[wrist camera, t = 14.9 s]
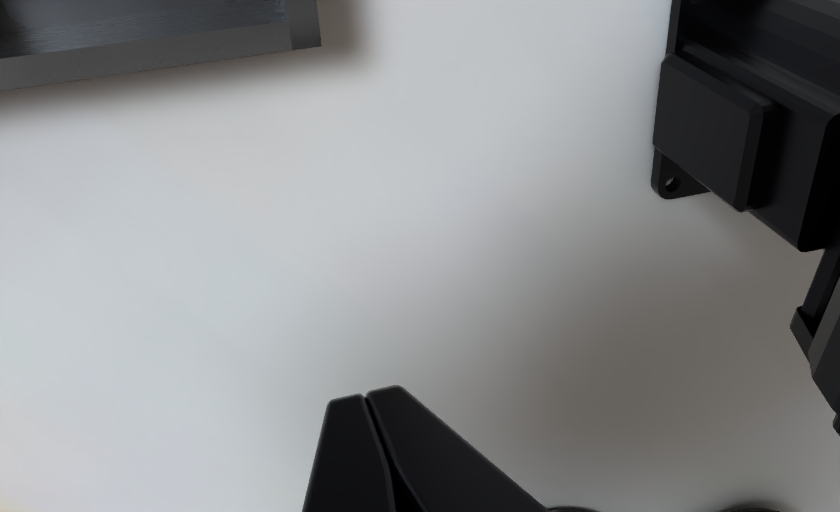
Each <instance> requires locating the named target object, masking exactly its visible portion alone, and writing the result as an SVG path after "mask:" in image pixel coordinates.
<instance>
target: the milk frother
mask: <svg viewBox="0 0 840 512" xmlns="http://www.w3.org/2000/svg"><path fill="white" fill-rule="evenodd" d="M549 512H588V511H585V510H575V509H555V510H550V511H549ZM733 512H779V511H774V510H769V509H762V508H751V509H743V510H738V511H733Z"/></svg>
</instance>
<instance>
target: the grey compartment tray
mask: <svg viewBox="0 0 840 512" xmlns="http://www.w3.org/2000/svg"><path fill="white" fill-rule="evenodd" d="M318 46H322V45H321V37H320V29H319V21H318V13H317V5H316V0H0V91H3V90H10V89H17V88H24V87H32V86H39V85H46V84H53V83H60V82H67V81H75V80H82V79H89V78H96V77H103V76H110V75H118V74H125V73H132V72H139V71H146V70H153V69H161V68H168V67H175V66H182V65H189V64H196V63H204V62H211V61H218V60H225V59H232V58H239V57H247V56H254V55H261V54H268V53H275V52H283V51H290V50H297V49H304V48H311V47H318Z"/></svg>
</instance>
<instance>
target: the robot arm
mask: <svg viewBox="0 0 840 512" xmlns="http://www.w3.org/2000/svg"><path fill="white" fill-rule="evenodd" d="M653 145H654V146H655V151H654V159H653V168H652V176H651V187H652V189H653V190H654V191H655V192H656V193H657V194H658V195H659V196H660V197H662V198H664V199H675V198H680V197H686V196H691V195H696V194H701V193H706V192H713V193H714V194H715V195H717V196H718V197H719V198H720V199H722V200H723V201H724V202H725V203H727V204H728V205H729V206H731V207H732V208H733V209H734V210H736V211H737V212H740V213H741V212H746V211H748V212H750V213H751V214H752V215H753V216H755V217H756V218H757V219H759V220H760V221H761V222H763V223H764V224H765V225H766V226H768V227H769V228H770V229H772V230H773V231H774V232H776V233H777V234H778V235H779V236H781V237H782V238H783V239H785V240H786V241H787V242H789V243H790V244H791V245H793V246H794V247H795V248H796V249H798V250H799V251H800V252H809V251H813V250H818V249H822V250H824V253H823V256H822V258H821V261H820V263H819V266H818V268H817V271H816V273H815V276H814V278H813V281H812V283H811V286H810V288H809V291H808V293H807V296H806V298H805V301H804V303H803V306H800V307H798V308H797V309H796V312H795V314H794V317H793V319H792V322H791V324H790V329H791V331H792V332H793V334H794V336H795V338H796V340H797V341H798V343H799V345H800V347H801V349H802V351H803V352H804V354H805V356H806V358H807V360H808V361H809V363H810V368H811V374H812V379H813V380H814V382H815V383H816V385H817V386H818V388H819V389H820V391H821V392H822V394H823V396H824V397H825V399H826V400H827V402H828V403H829V405H830V406H831V408H832V409H833V410H834V411H835V413H836V416H835V418H834V420H833V428H834V429H835V430H836V432H837V433H838V435H839V436H840V0H672V6H671V14H670V23H669V32H668V40H667V49H666V56H665V58H664V60H663V62H662V64H661V73H660V82H659V90H658V99H657V108H656V116H655V125H654V134H653ZM672 177H674V178H673V181H672V182H671V183H670V184H669V185H667V186H665V185H666V182H667V181H668V180H669V179H670V178H672ZM302 512H549V511H548V510H547V509H546V508H545V507H544V506H542V505H541V504H540V503H539V502H538V501H536V500H535V499H534V498H533V497H532V496H531V495H529V494H528V493H527V492H526V491H525V490H523V489H522V488H521V487H520V486H519V485H518V484H516V483H515V482H514V481H513V480H512V479H510V478H509V477H508V476H507V475H506V474H505V473H503V472H502V471H501V470H500V469H499V468H497V467H496V466H495V465H494V464H493V463H492V462H490V461H489V460H488V459H487V458H486V457H484V456H483V455H482V454H481V453H480V452H479V451H477V450H476V449H475V448H474V447H473V446H471V445H470V444H469V443H468V442H467V441H466V440H464V439H463V438H462V437H461V436H460V435H458V434H457V433H456V432H455V431H454V430H453V429H451V428H450V427H449V426H448V425H447V424H445V423H444V422H443V421H442V420H441V419H440V418H438V417H437V416H436V415H435V414H434V413H432V412H431V411H430V410H429V409H428V408H427V407H425V406H424V405H423V404H422V403H421V402H419V401H418V400H417V399H416V398H415V397H414V396H412V395H411V394H410V393H409V392H408V391H406V390H405V389H404V388H403V387H401V386H398V385H393V386H389V387H385V388H380V389H376V390H371V391H369V392H368V393H367V394H366V396H365V397H364V396H363V395H362V394H354V395H350V396H345V397H341V398H337V399H333V400H331V401H330V402H329V403H328V405H327V408H326V412H325V416H324V420H323V425H322V429H321V433H320V437H319V441H318V446H317V450H316V454H315V458H314V463H313V467H312V471H311V475H310V479H309V484H308V488H307V492H306V496H305V501H304V505H303V509H302Z"/></svg>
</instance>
